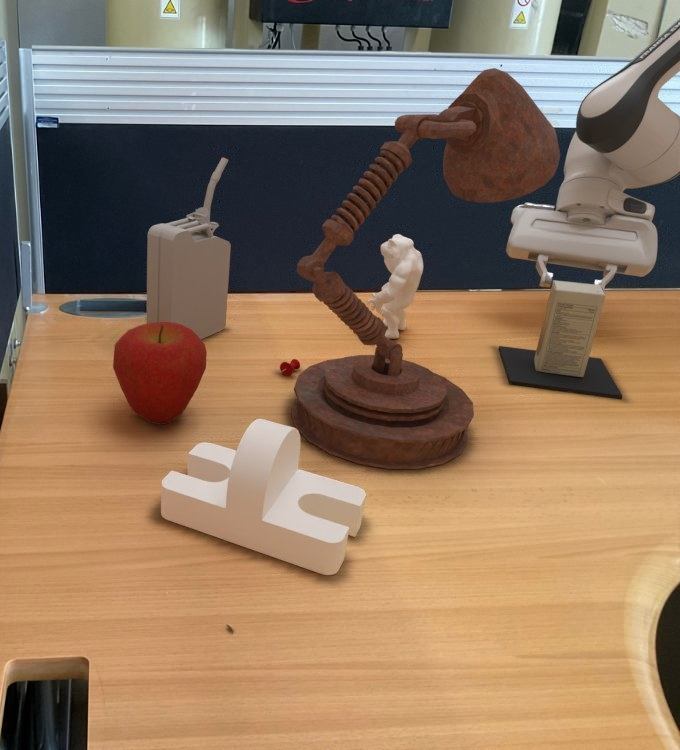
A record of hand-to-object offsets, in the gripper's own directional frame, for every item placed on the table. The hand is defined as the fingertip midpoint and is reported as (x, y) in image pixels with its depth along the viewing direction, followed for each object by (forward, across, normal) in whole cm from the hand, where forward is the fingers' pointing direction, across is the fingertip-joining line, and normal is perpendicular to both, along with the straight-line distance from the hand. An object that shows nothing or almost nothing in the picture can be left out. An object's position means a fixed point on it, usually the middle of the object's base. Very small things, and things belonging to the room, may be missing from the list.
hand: (570, 289), depth 113 cm
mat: (+15, 0, -3) cm, 15 cm away
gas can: (+23, -51, -11) cm, 57 cm away
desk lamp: (+32, -19, -20) cm, 42 cm away
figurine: (+13, -24, -1) cm, 27 cm away
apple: (+41, -44, -29) cm, 67 cm away
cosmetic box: (+14, 0, -3) cm, 15 cm away
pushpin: (+28, -34, -16) cm, 47 cm away
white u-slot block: (+50, -27, -38) cm, 69 cm away
